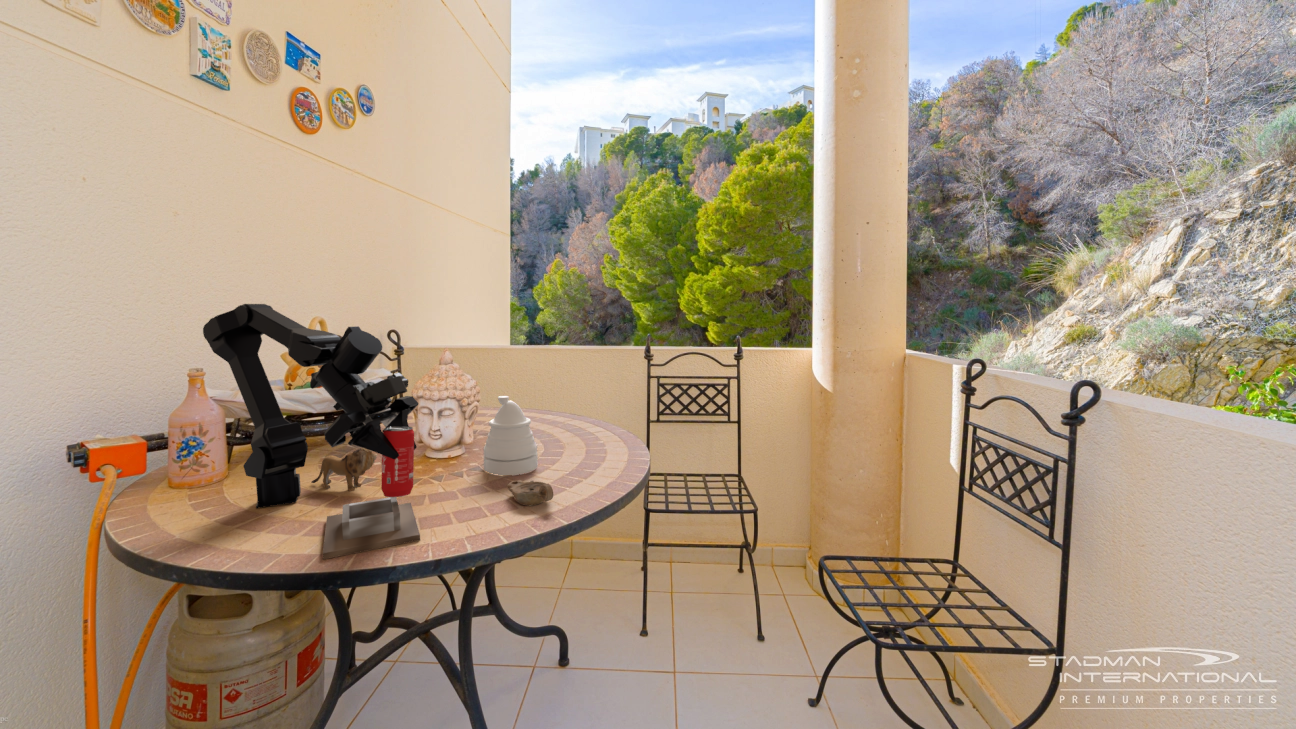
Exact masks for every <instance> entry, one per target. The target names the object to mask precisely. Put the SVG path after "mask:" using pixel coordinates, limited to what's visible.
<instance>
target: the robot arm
mask: <svg viewBox="0 0 1296 729" xmlns="http://www.w3.org/2000/svg"><path fill="white" fill-rule="evenodd" d="M202 334H203V337H204V340H206V342H207V343H208V345H209V347H210V348H211V350H212V352H213V354H216V356H218V357H220V358H221V359H222V360H224V361H225V362H227V363H228V365H229V367H230V370H231V372H232V375H233V377H234V380H235V381H236V382H235V383H236V384H237V387H238V390H239V392H240V394H241V397H242V399H243V402H244V404H245V407H246V409H247V412H248V414H249V416H250V420H251V422H252V424H253V426H254V431H253V435H252V438H251V442H250V447H251V450H252V452H251V454H250V455H249V457H248V458H247V459H246V461H245V462H244V464H243V468H244V469H243V470H244V472H245V475H246V476H247V477H250V478H255V486H256V498H257V502H256V505H255V508H256V509H262V508H269V507H273V506H275V507H276V506H282V505H288V504H289V505H291V504H294V503H297V501H298V498H299V497H300V496H301V493H302V492H301V490H302V489H301V477H300V473H297V470H296V469H298V468H303V467H305V464H306V459H307V455H308V450H309V445H308V443H307V441H308V439H307V438H306V435H304V432H303V429H302V426H301V425H300V424H299V422H297V421H296V422H290V421H289V420H287V419H286V418H285V417H284V414H283V413H282V410H281V408H280V405H279V402H278V400H277V397H276V395H275V393H274V390H273V388H272V386H271V383H270V380H269V378H268V376H267V373H266V371H265V369H264V366H263V363H262V361H261V359H260V356H259V352H260V348H261V345H262V342H263V339H262V336H263V335H265V336H267V337H269V338H270V339H272V340H273V341H276V342H277V343H279V344H280V345H281V346H283V347H285V348H287V351H288V354H287V355H288V356H289V357H290V358H291V359H292V360H293V361H295V362H296V363H297V364H298V365H299V366H301V367H303V368H308V367H319V366H320V368H319V369H318V371H317V372H312V373H311V374H310V377H311V378H310V382H309V386H310V388H311V389H316V388H320V387H322V388H323V389H324V390H325V391H326V393H328V395H329V396H330V397H331V398H332V399H333V400H334V401H335V404H334V405H333V406H332V407H333V409H335V411H337V412H338V411H342V410H343V411H344V413H342V414H340V415H339V416H338V417H337V418H336V419H335V420H334V421H333V422H332V423H331V424H330V425H329V427H328V428H327V429H326V430H325V431H324V440H325V441H326V442H327V443H328V445H329V446H330V447H331V448H335V447H337V446H340V445H343V444H345V443H346V440H347V436H346V434H348V433H349V436H350V437H351V439H350V440H349V441H348V442H347V444H348V445H350V446H353V445H354V446H356V447H359V448H365V449H368V450H371V451H372V452H373V453H374V452H375V453H377V454H379V455H381V456H382V455H384V456H387V457H389V458H392V459H396V458H397V457H398V456H399V454H398V452H397V451H396V450H395V448H394V447H393V446H392V444H391V443H390V441H389V440H388V439H387V437H386V436H385V435H384V434H383V432H384V429H383V430H382V429H381V426H382V425H383V426H384V428H387V427H395V426H408V427H410V425H409V423H408V418H409V415H410V414H411V413H412V412H413V411H414V410H415V409H416V407H418V406H419V402H418V401H417V400H416V399H415V397H414V396H411V395H405V396H402V397H398V398H395V399H394V400H393V399H392V398H394V397H396V396H398V395H400V394H405V393H407V392H408V389H407V387H409V379H407V377H405V376H404V375H403V374H401V372H394V373H392V374H390V375H388V376H387V378H385V379H383V380H380V381H378V382H376V383H375V382H373V381H368V382H366V381H365V380H364V379H363V378H362V377H361V376H360V375H361V374H364V373H365V372H366V371H367V369H369V367H370V366H371V365H372V363H373V362H374V361H375V359H377V357H378V356H379V354H380V353H381V352H382V350H383V343H382V342H381V340H380V339H379V338H377V337H376V336H374V335H373V334H371V333H369V332H367V331H365V330H362V328H360V326H356V325H355V326H348V327H347V328H346V330H345V331H344V333H343V335H342V336H341V337H340V336H339V335H337V334H335V333H332V332H329V331H325V330H320V329H312V328H308V327H306V326H304V325H302V324H300V323H299V322H296V321H295V320H293V319H292V318H289V317H287V316H286V315H284V314H282V313H280V312H278V311H277V310H275V309H274V308H273V307H272V306H271V305H267V303H242V304H240V305H238V306H237V307H235V308H234V309H232V310H229V311H226V312H224V313H221V314H218V315H216V316H214V317H212V318H210V319H209V320H208V322H206V323H205V324H204V326H203V328H202ZM390 403H391V404H390ZM386 406H387V407H386ZM381 423H382V425H381ZM416 449H417V444H416V442H415V440H414V451H415V450H416Z"/></svg>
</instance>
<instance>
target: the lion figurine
mask: <svg viewBox="0 0 1296 729" xmlns="http://www.w3.org/2000/svg"><path fill="white" fill-rule="evenodd" d="M376 459H377V454H375V453H374V452H373V451H371V450H368V449H365V448H362V447H359V448H358V449H356V450H353V451H352V452H350V453H347V454H346V455H345V456H344V457H343V458H340V457H338V456H336V455H326V456H325V457H324V458H323V459H322V461H321V466H320V470H319V473H318V476H317V477H316V478H314V479H313V480H312V481H311V483H312V484H316V483H318V481H319V480H320V479H321V477H322V474H323V479H322V483H323V489H325V490H326V489H327V490H328V489H331V485H330V484H329V483H332V479H330V478H329V477H330V476H331V475H333V474H336V475H337V476H342V477H344V476H345V480H346V484H347V491H348V492H354V491H355V490H356V488H361V486H362V483H361V482H360V483H359V478H360V477H361V476H363V475H365V473H366V471H368V470H371V468H373V465H374V464H375V463H376V462H375V461H376Z"/></svg>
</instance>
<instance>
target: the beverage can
mask: <svg viewBox="0 0 1296 729" xmlns="http://www.w3.org/2000/svg"><path fill="white" fill-rule="evenodd" d="M408 426H409V425H408ZM408 426H395V427H387V428H386V427H384V428H383V430H384V432H383V434H384V435H385V436H386V437H387V439H388V440H389V441H390V443H391V444H392V446H393V447H394V448H395V450H396V451H397V452H398V454H399V456H398V457H397V458H396V459H392V458H389V457H387V456H384V455H382V454H381V484H380V485H381V486H380V488H381V491H382V493H383V497H385V498H390V497H396V498H402V497H406V496H407V497H408V496H409V495H410V494H411V492H412V490H413V488H414V470H415V469H414V468H415V467H414V465H415V464H414V460H415V458H414V456H415V450H414V441H415V431H414V428H413V427H412V426H409V427H408Z"/></svg>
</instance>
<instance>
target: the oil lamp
mask: <svg viewBox="0 0 1296 729" xmlns="http://www.w3.org/2000/svg"><path fill="white" fill-rule="evenodd" d="M506 488H507V490H508V491H509V492H510V493H511V494H512V496H513V498H514V500H515V501H516V503H518V504H520V505H524V506H529V505H531V506H537V505H539V504H541V503H544V502H550V501H551V500H553V498H554V489H553V487H552V485H551V484H549V483H546V482H541V481H534V480H530V481H523V480H522V479H520V480H513V481H510V482H509V483H508V484H507V485H506Z"/></svg>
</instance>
